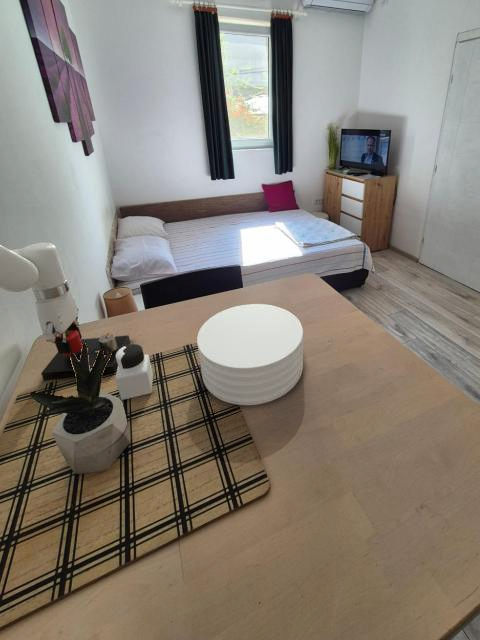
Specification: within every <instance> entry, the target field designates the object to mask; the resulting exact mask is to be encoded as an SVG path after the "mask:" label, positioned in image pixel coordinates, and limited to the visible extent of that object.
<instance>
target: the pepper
mask: <svg viewBox="0 0 480 640" xmlns="http://www.w3.org/2000/svg"><path fill="white" fill-rule="evenodd" d="M65 334H66V340H68V341H69V344H70V347H71V349H72V352H71V353H74V354H76V353H77V352H79V351H80V350H81V349H82V342H81V339H82V338H81V339H80V336H79V333H78V331H77V330H66V331H65ZM57 337H60V338H61V334H57ZM62 355H64V356H69V355H70V353H65V354H62Z"/></svg>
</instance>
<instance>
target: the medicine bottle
mask: <svg viewBox="0 0 480 640" xmlns="http://www.w3.org/2000/svg"><path fill="white" fill-rule="evenodd" d="M150 359H151V358H150V356H149V354H148V353H147V354H145V353H144V349H143V347H142V346H141V345H140V344H138V343H129V345H127V346H124V347H122V348H121V349H120V350H119V351H118V352H117V353H116V360H117V363H118V367H117V369H116V374H115V383H116V387H117V390H118V394H119V397H120V400H121V401H124V400H128V399H133V398H136V397H141V396H145V395H149V394H152V392H153V381H154V380H153V378H154V372H153V369H152V364H151V360H150Z"/></svg>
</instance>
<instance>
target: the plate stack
mask: <svg viewBox="0 0 480 640" xmlns="http://www.w3.org/2000/svg"><path fill="white" fill-rule="evenodd" d="M196 344H197V350H198V357H199V363H200V370H201V377H202V381H203V384H204V387H205V388H206V389H207V391H208V392H209V393H210V394H211V395H213V396H214V397H215V398H217V399H219V400H221V401H222V402H226V403H228V404H232V405H239V406H256V405H262V404H266V403H270V402H273V401H274V400H277V399H280V398H281V397H283V396H285V395H286V394H288V392H290V391H291V390H292V389H294V387H295V386H296V385H297V383H298V382H299V380H300V378H301V376H302V373H303V369H304V328H303V325H302V323H301V321H300V320H299V318H298V317H297V316H296V315H295V314H293V313H292V312H290V311H289V310H287V309H285V308H282V307H279V306H276V305H273V304H272V305H271V304H266V303H264V304H263V303H250V304H241V305H237V306H232V307H230V308H229V307H228V308H227V309H224V310H222V311H219V312H217V313H216V314H214V315H212V316H211V317H210V318H208V319H207V320H206V321H205V322H204V323H203V324H202V326H201V327H200V328H199V330H198V333H197V337H196Z"/></svg>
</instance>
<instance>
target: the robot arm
mask: <svg viewBox="0 0 480 640" xmlns="http://www.w3.org/2000/svg"><path fill="white" fill-rule="evenodd" d="M0 289H3V290H4V291H7V292H11V293H21V292H24V291H28V290H30V289H31V290H32V292H33V295H34V298H35V300H36V301H35V308H36V309H35V310H36V314H37V318H38V322H39V326H40V329H41V332H42V333H43V335H44V336H46V338H45V342H46V343H53V344H54V345H55V347H56V350H57V353H59V354H65V353H71V352H72V349H71V347H70V344H69V341H68V340H66V334H65V331H66V330H77V331H78V333H79V336H80V339H83V337H82V333H81V330H80V327H79V325H80V324H79V321H78V320H79V308H78V306H77V303H76V300H75V298H74V296H73V293H72V292H71V289H70V286H69V283H68V279H67V277H66V274H65V271H64V267H63V264H62V261H61V258H60V255H59V250H58V249H57V246H56V244H54V243H52V242H37V243H33V244H29V245H26V246H24V247H22V248H17V249H9V248H7V247H5V246H3V245H1V244H0ZM59 334H61V338H60V337H57V336H58V335H59Z"/></svg>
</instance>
